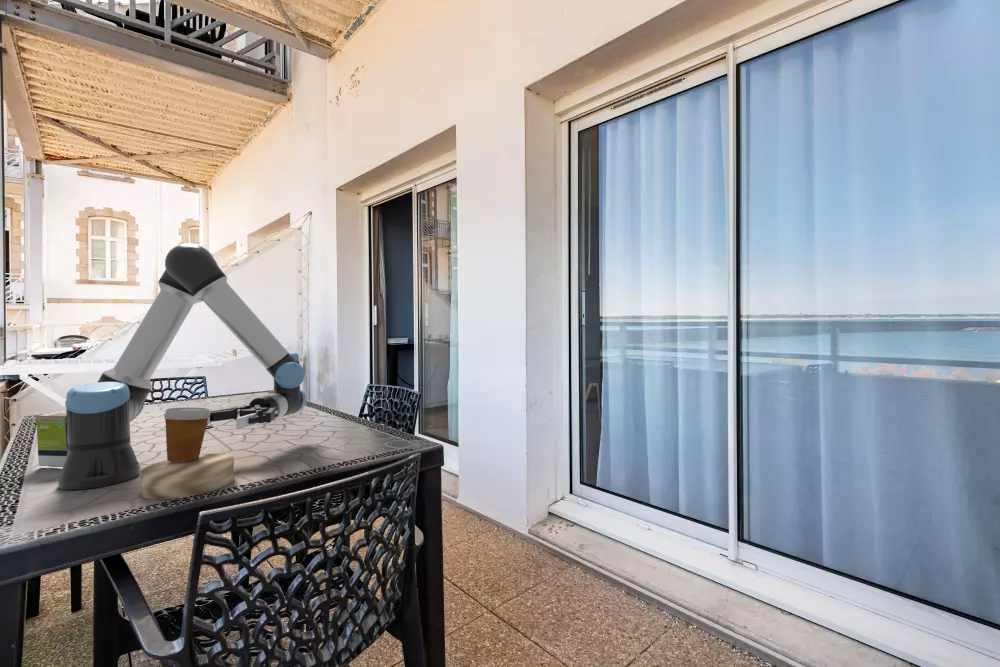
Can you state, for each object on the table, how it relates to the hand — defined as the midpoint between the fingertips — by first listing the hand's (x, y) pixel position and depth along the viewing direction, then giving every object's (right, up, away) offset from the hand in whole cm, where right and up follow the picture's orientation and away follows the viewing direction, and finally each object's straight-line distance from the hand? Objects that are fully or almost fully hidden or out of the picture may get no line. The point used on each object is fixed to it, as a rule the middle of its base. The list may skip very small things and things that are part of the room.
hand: (212, 423), depth 114 cm
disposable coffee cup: (-5, -8, -4) cm, 10 cm away
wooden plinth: (-1, -13, -7) cm, 15 cm away
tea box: (-47, -14, +15) cm, 51 cm away
